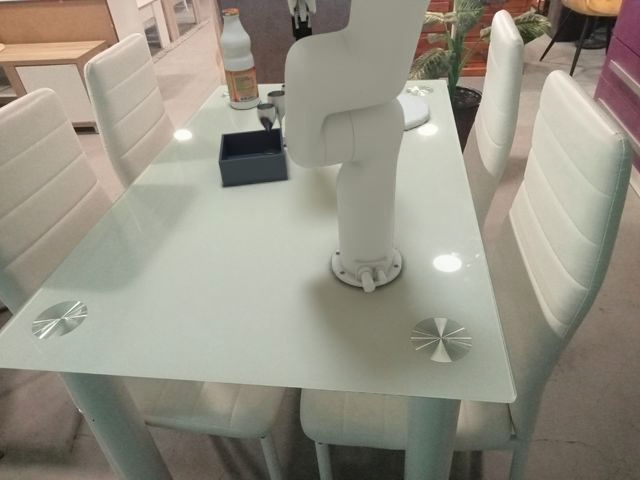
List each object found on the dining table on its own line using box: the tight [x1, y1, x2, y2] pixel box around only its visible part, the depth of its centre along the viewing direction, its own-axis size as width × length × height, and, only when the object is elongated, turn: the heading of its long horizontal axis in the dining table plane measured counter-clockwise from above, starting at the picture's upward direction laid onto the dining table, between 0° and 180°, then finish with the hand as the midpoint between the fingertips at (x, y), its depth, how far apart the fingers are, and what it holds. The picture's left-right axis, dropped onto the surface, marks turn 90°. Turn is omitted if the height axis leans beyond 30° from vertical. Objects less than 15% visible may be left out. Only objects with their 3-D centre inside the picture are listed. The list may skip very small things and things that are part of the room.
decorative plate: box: [396, 93, 430, 131], centre depth 138 cm, size 25×4×25 cm
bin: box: [217, 127, 288, 187], centre depth 117 cm, size 15×15×6 cm
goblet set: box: [256, 83, 287, 154], centre depth 129 cm, size 28×6×13 cm, turn 153°
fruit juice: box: [219, 8, 261, 110], centre depth 146 cm, size 9×9×28 cm
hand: (302, 42), depth 96 cm, fingers open, 9 cm apart
